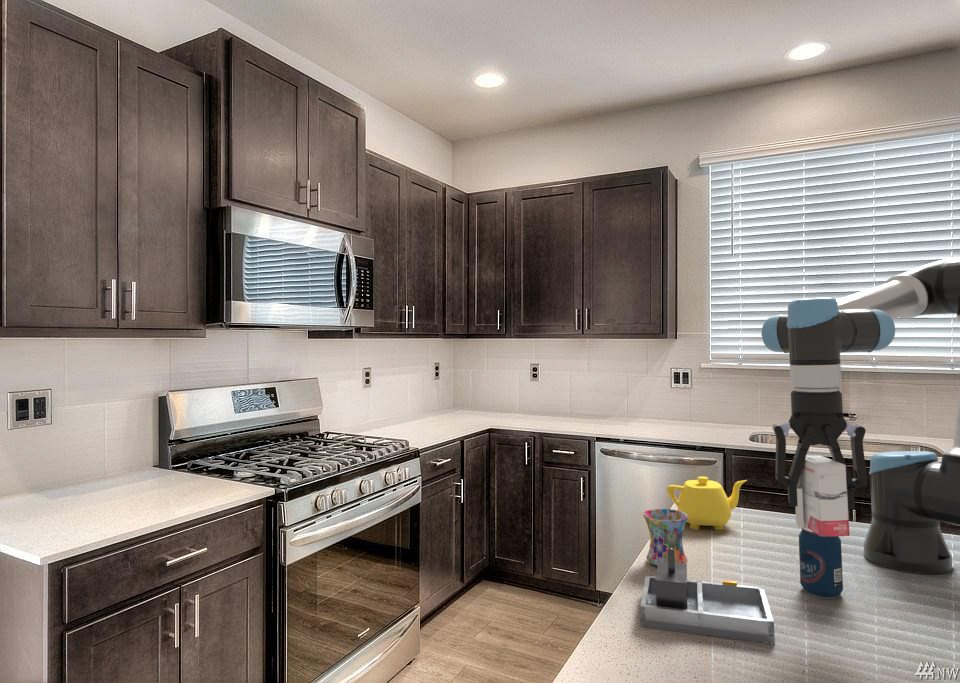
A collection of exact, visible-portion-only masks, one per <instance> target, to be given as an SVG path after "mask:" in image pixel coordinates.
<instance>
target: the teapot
mask: <svg viewBox="0 0 960 683" xmlns="http://www.w3.org/2000/svg"><path fill="white" fill-rule="evenodd" d="M747 481H748V480H747V479H744V480H738V481H736V482H735V483H734V484H733V487H732V493H731V494H730V496H729V497H728V496H727V494H726V492H725V490H724V487H723V486H722V484H721V483H719V482H718V481H714V480H709V477H708V476H697V478H696V479H689V480H686V481H684V484H683V485H678V484H669V485H667V486H666V494H667V495H668V497H669V499H671V501H672V502H673V504H675V505H676V507H677V510H678V511H681V512H684V513H686V514H687V515H688V519H687V521H686V523H688V524H690V525H689V529H691V530H699V529H700V526H713V529H714V530H715V531H724V530H725V528H724V526H725V525H727V524H728V523H729V521H730V519H731V517H732V511H733V510H734V509H735V508H736V507H737V506H738V503H739V499H740V498H739V497H740V489H741V487H742V485H743V484H744V483H745V482H747ZM676 490H681V491H680V492H679V496H678V499H677V496H676V494H675V491H676Z"/></svg>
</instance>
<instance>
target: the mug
mask: <svg viewBox="0 0 960 683" xmlns="http://www.w3.org/2000/svg"><path fill="white" fill-rule="evenodd" d="M642 516H643V518H644V520H645V522H646V525H647V529H648V532H649V548H648V552H647V555H646V561H647V562H648V563H650V564H652V565H654V566H656V567H658V561H660V562H668V554H667V550H668V549H669V548H673V549H674V553H675V563H682V564H687V563H688V558H687V556H686V554H685V551H684V545H683V535H684V529H685V526H686V524H687V522H686V521H687V519H688V515H687V514H686V513H684V512H681V511H678V509H672V508H652V509H647V510H645V511H644V512H643V514H642Z"/></svg>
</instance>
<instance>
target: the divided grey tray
mask: <svg viewBox="0 0 960 683" xmlns="http://www.w3.org/2000/svg"><path fill="white" fill-rule="evenodd" d="M667 554H668V562H660V561H658V566H656V567H657V568H656V576H655V575H645V579H644V583H643V591H642V596H641V601H640V627H641V628H647V629H655V630H662V631H670V632H679V633H685V634H694V635H700V636H707V635H708V636H709V637H716V638H723V639H732V640H739V641H746V642H753V643H754V641H755V643H760V642H767V643H766V644H768V643H773V644H772V645H776V639H775V638H776V637H775V622H774V618H773V616H772V612H771V608H770V605H769V601H768V598H767V594H766V592H765V588H764V587H762V586H752V585H751V586H750V585H742V584H738V582H737V580H725V579H722V580H721V582H714V581H713V582H711V581H705V580H704V581H702V580H694V579H693V580H692V579H688V568H687V567H688V565H687V563H686V564H682V563H675V553H674V549H673V548H669V549H668V550H667Z"/></svg>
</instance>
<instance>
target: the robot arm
mask: <svg viewBox="0 0 960 683" xmlns="http://www.w3.org/2000/svg"><path fill="white" fill-rule="evenodd" d="M948 314H949V315H952V314H954V315H955V314H956V320H957V321H958V322H960V257H952V258H951V257H950V258H944V259H940V260H936V261H933V262H931V263H927V264H924V265H922V266H918V267H915V268H913V269H911V270H907V271H905V272H902V273H900V274H897V275H894V276H891V277H889V278H888V279H887V280H886V281H885V282H884V283H883V284H880V285H878V286H875V287H872V288H869V289H866V290H861V291H858V292H855V293H853V294H850V295H847V296H845V297H840V298H838V299H836V298H835V297H834V298H833V297H815V298H814V297H813V298H802V299H794V300H792V301H790V302H789V304H788V305H787V314H783V313H781V314H779V315H773V316H771V317H768V318H767V319H766V320H765V321H764V322H763V325H762V328H761V339H762V342H763V344H764V346H765V347H766V348H767V350H770V351H771V352H774V353H775V352H776V353H783V354H789V356H788V357H789V380H790V382H789V383H790V387H791V388H792V389H794V390H792V391H791V392H790V407H791V416H790V418H789V420H788V422H785V423H781V424H778V423H775V424H773V425H772V430H773V433H774V436H775V469H774V470H775V471H774V472H775V479H776V481H777V483H778V484H781V485H785V486H787V501H788V504H789V505H790V507H795V522H796V525H797V527H798V528H801V529H802V528H804V518H803V495H802V488H801V487H800V485H797V484H798V481H799V478H800V475H801V471H802V468H803V465H804V461H805V458H806V455H808V452H809V450H810V446H816V445H821V446H827V448H828V449H829V453H830V455H831V457H832V460H834V461H836V462H839V463H842V464H845V465H846V484H847V501H848V510H854V509H855V507H856V505H855V504H856V501H855V500H856V499H855V498H856V497H855V491H856V489H858V488H862V487H863V488H864V487H867V486H868V477H867V476H868V475H867V469H866V460H865V451H864V442H863V441H864V438H865V434H866V431H867V430H866V428H865V427H864V426H862V425H860V424H855V425H854V424H853V423H848V422H847V421H846V418H845V417H844V410H843V409H844V408H843V407H844V406H843V393H842V392H841V391H840V390H839V389H840V388H841V387H842V368H841V367H842V366H841V353H872V352H876V351H881V350H884V349H886V348H887V347H888V346H889V345H890V344H892V342H893V340H894V338H895V336H896V325H895V322H894V320H895V319H898V318H899V319H906V320H907V319H912V318H916V317H920V316H925V315H926V316H927V315H929V316H930V315H948ZM958 387H959V388H958V397H957V406H956V414H955V424H954V425H955V426H954V436H953V444H952V446H951V447H950V448H948V449H947V450H945V451H943V452H942V456H941V461H939V458H938V455H937V453H935V452H934V451H933V452H932V451H927V450H926V451H923V450H901V451H900V450H898V451H897V450H896V451H883V452H878V453H875V454H873V455H872V456H871V458H870V465H869V471H868V474H869V481H870V482H869V484H870V500H871V504H870V505H871V522H870V525H869V528H868V531H867V534H866V536H865V538H864V542H863V555H864V557H865V558H866V559H867V560H869V561H871V562H872V563H875V564H877V565H879V566H882V567H884V568H889V569H893V570H897V571H902V572H906V573H913V574H924V575H927V574H928V575H929V574H930V575H939V574H946V573H949V572H951V571H952V570H953V558H952V554H951V552H950V549H949V547H948V544H947V543H946V540H945V537H944V534H943V533H942V530H941V526H940V522H943V523H947V524H951V525H953V526H959V527H960V384H959V386H958ZM790 430H792V431H793V432H794V434H795V435H796V436H797V437H798V441H797V444H796V445H797V446H796V449H795V453H794V456H793V460H792V463H791V466H790V470H789V472H788V476H787V475H786V464H787V463H786V460H787V458H786V457H787V454H786V453H787V451H786V450H787V438H786V437H788V436H789V431H790ZM845 430H846V431H847V432H846V434H847V436H848V437H850V449H851V457H852V458H851V460H852V467H853V476H854V478H852V477H851V476H852V475H851V474H850V471H849V468H848V466H847V463H846V461H845V459H844V456H843V454H842V451H841V447H840V445H839V442H838V439H839V438H840V436H841V435H842V434H843V433H844V431H845Z"/></svg>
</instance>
